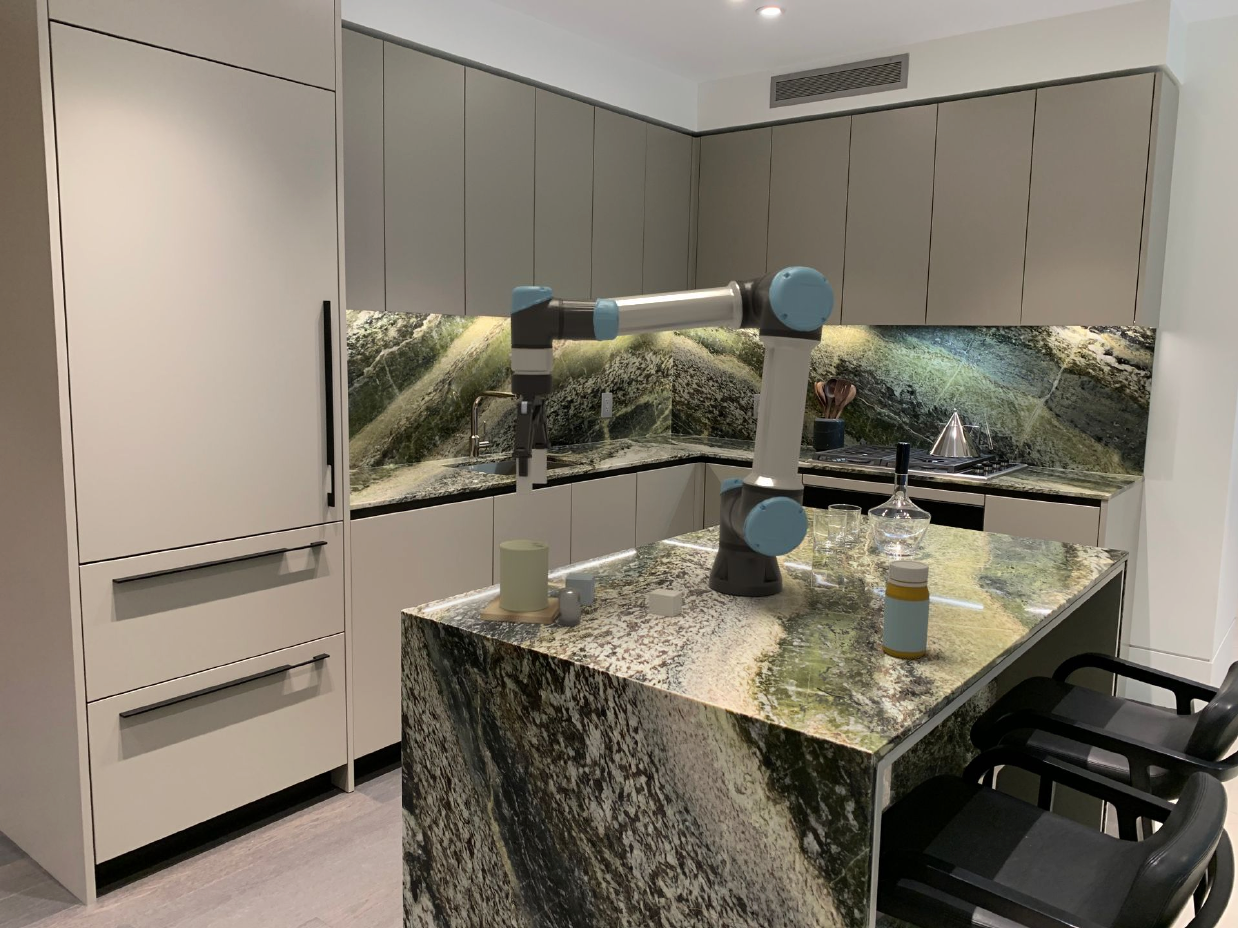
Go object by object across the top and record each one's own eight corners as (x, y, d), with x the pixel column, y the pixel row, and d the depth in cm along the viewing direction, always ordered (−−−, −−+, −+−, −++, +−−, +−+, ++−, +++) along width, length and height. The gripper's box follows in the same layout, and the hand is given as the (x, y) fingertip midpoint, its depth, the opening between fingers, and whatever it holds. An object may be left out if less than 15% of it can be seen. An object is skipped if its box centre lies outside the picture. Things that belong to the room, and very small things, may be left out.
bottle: (876, 646, 163) (880, 559, 161) (916, 646, 164) (921, 559, 162) (890, 659, 156) (896, 569, 154) (932, 659, 157) (938, 569, 155)
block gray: (594, 598, 189) (594, 574, 189) (590, 605, 184) (591, 580, 184) (569, 597, 190) (569, 572, 189) (564, 604, 185) (565, 578, 184)
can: (540, 613, 174) (541, 548, 172) (492, 610, 175) (492, 545, 174) (554, 600, 182) (555, 538, 181) (507, 597, 184) (508, 535, 183)
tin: (582, 620, 175) (582, 587, 174) (578, 626, 171) (578, 593, 170) (560, 618, 175) (560, 586, 174) (556, 625, 171) (556, 592, 170)
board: (564, 604, 185) (564, 598, 184) (551, 623, 172) (551, 617, 172) (498, 600, 186) (498, 594, 186) (480, 619, 173) (480, 613, 173)
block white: (681, 612, 181) (682, 591, 181) (673, 617, 178) (673, 596, 177) (657, 608, 184) (658, 588, 183) (648, 613, 180) (649, 592, 180)
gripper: (525, 370, 187) (526, 478, 190) (495, 375, 163) (495, 499, 165) (564, 371, 186) (563, 479, 189) (538, 375, 162) (538, 500, 165)
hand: (532, 488), depth 177 cm, fingers open, 13 cm apart
